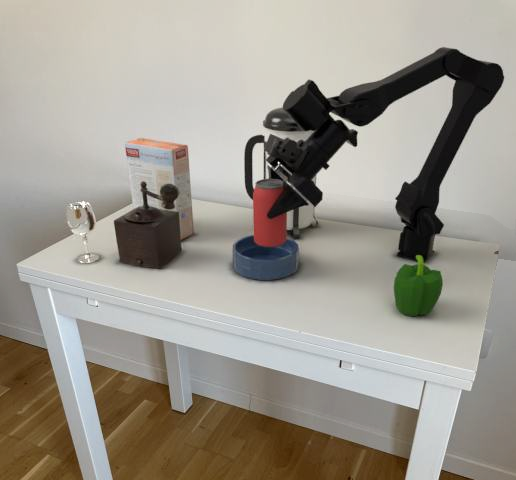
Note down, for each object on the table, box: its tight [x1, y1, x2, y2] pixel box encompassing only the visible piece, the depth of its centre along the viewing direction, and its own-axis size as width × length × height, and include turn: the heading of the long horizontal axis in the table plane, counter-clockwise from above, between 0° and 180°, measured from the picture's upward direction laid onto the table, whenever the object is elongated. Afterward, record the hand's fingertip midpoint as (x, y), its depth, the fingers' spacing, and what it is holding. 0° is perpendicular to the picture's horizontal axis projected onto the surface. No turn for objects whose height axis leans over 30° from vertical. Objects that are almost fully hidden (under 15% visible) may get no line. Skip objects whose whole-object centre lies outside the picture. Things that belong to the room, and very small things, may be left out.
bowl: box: [231, 234, 300, 281], centre depth 114 cm, size 14×14×4 cm
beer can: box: [252, 178, 288, 248], centre depth 105 cm, size 7×7×12 cm
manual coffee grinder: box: [113, 181, 183, 269], centre depth 113 cm, size 16×11×18 cm
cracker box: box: [124, 137, 195, 241], centre depth 125 cm, size 14×6×21 cm, turn 58°
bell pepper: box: [393, 255, 444, 317], centre depth 96 cm, size 8×8×10 cm
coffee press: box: [243, 106, 319, 240], centre depth 125 cm, size 17×16×30 cm
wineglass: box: [66, 201, 100, 264], centre depth 115 cm, size 6×6×12 cm
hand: (263, 211), depth 105 cm, fingers closed on beer can, 6 cm apart
